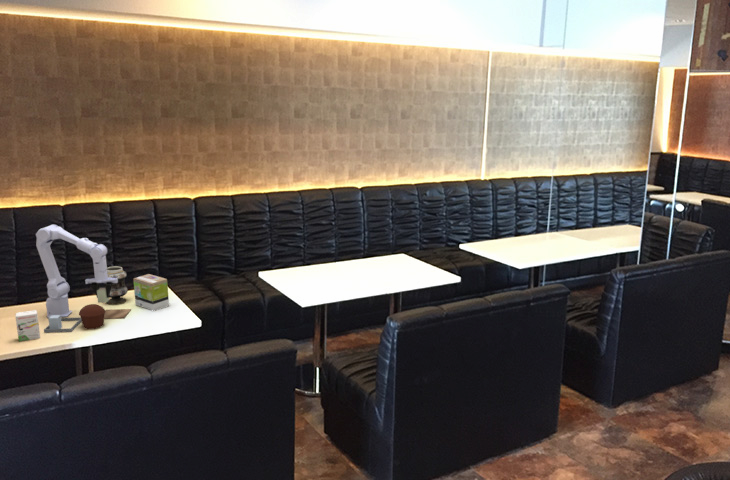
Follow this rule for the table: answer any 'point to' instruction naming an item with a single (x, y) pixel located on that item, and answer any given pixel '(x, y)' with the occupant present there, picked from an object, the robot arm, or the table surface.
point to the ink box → (27, 325)
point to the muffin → (92, 316)
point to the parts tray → (48, 330)
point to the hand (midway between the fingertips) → (103, 297)
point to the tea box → (151, 292)
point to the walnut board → (116, 313)
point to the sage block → (102, 295)
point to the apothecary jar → (117, 285)
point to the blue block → (55, 322)
